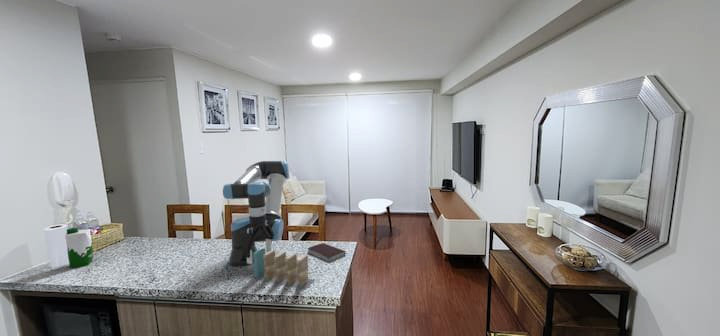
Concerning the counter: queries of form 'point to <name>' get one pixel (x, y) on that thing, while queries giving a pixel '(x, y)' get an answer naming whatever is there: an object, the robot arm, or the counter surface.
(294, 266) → the light wood flat block
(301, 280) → the tile
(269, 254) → the light wood flat block
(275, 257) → the beige wooden block
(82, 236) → the milk carton
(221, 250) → the counter surface
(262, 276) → the runner mat
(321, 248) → the book
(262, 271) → the tile
